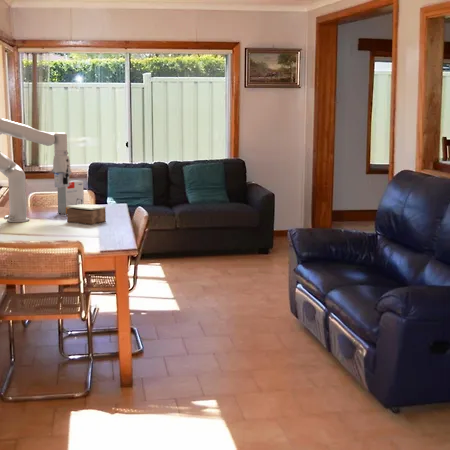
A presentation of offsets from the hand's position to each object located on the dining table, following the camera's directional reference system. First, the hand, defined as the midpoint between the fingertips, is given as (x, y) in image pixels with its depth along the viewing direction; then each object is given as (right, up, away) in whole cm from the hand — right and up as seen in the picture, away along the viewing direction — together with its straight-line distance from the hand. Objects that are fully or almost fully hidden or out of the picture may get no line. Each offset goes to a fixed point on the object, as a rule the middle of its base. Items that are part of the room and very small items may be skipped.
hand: (61, 183), depth 429 cm
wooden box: (+16, -23, -6) cm, 29 cm away
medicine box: (0, -2, 0) cm, 2 cm away
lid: (+16, -15, -8) cm, 23 cm away
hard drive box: (0, -17, +27) cm, 32 cm away
